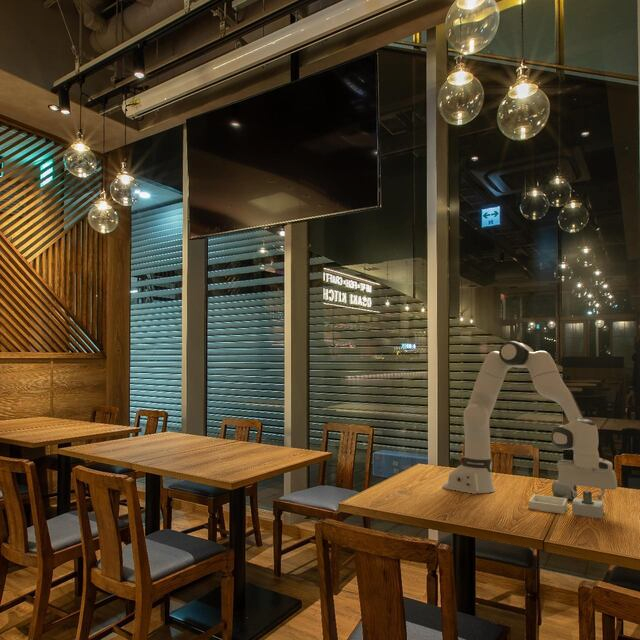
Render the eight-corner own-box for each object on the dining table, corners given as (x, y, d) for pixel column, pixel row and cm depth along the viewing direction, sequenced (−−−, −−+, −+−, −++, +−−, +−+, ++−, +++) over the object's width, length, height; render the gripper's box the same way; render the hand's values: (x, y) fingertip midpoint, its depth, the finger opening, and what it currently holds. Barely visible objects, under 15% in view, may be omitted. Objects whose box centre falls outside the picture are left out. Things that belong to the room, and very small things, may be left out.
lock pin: (583, 513, 198) (582, 492, 198) (583, 511, 200) (583, 490, 201) (592, 514, 196) (591, 493, 197) (592, 512, 199) (591, 491, 199)
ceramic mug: (557, 494, 226) (557, 476, 226) (577, 498, 220) (576, 480, 221) (548, 499, 218) (547, 481, 219) (568, 503, 213) (567, 484, 213)
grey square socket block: (572, 514, 197) (571, 503, 197) (574, 508, 205) (574, 497, 206) (602, 518, 192) (601, 507, 192) (603, 512, 200) (603, 501, 200)
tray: (528, 508, 203) (528, 501, 204) (533, 501, 214) (533, 494, 214) (564, 514, 197) (563, 506, 197) (567, 506, 208) (567, 498, 208)
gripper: (556, 460, 203) (556, 496, 201) (616, 465, 192) (617, 504, 191) (557, 457, 208) (558, 492, 207) (616, 463, 197) (617, 500, 196)
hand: (587, 498), depth 199 cm, fingers open, 7 cm apart
